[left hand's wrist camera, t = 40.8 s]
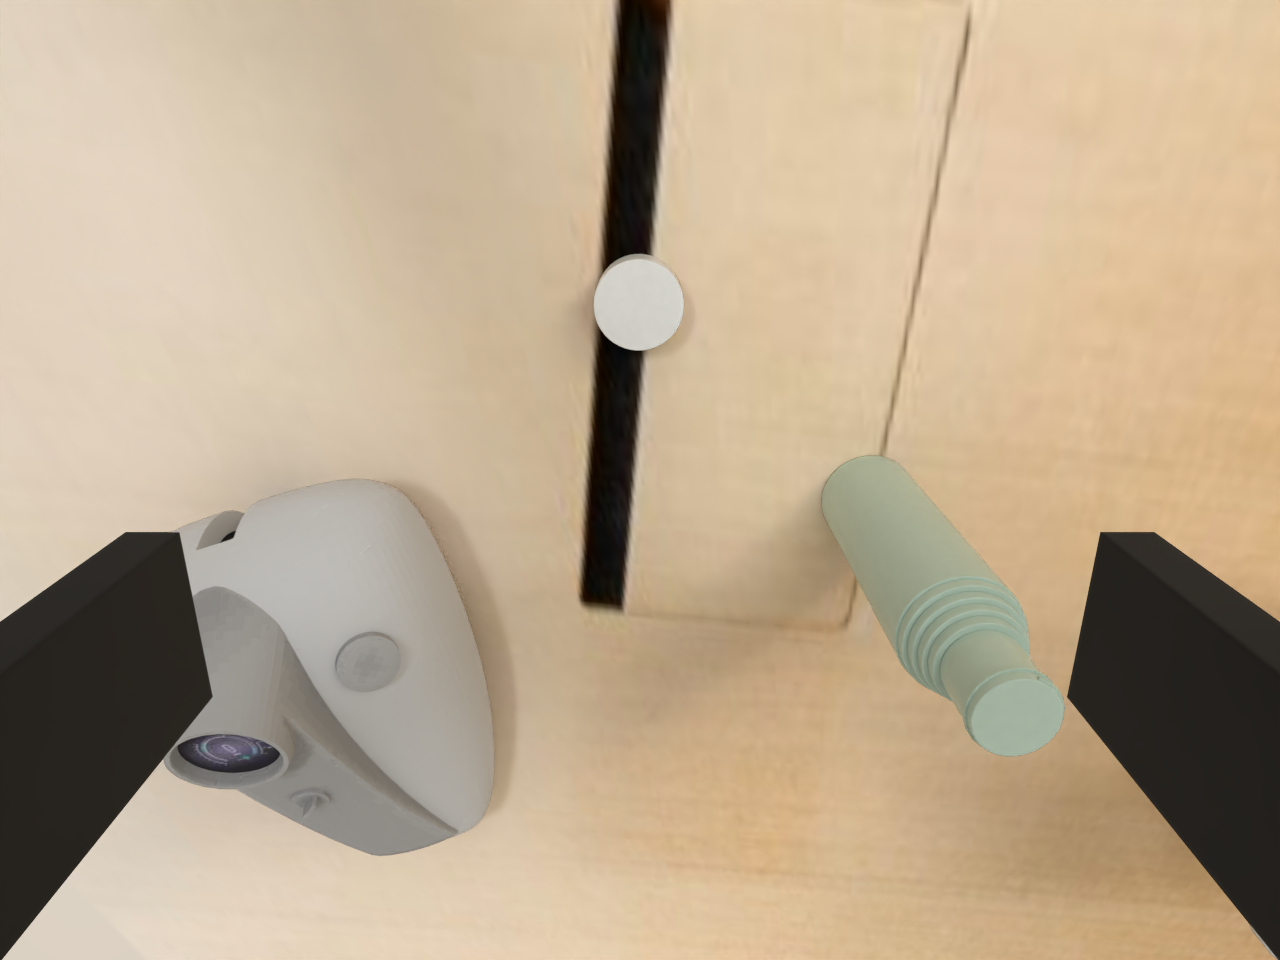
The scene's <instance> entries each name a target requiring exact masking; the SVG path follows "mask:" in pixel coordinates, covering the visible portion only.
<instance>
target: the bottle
mask: <svg viewBox="0 0 1280 960" xmlns="http://www.w3.org/2000/svg"><path fill="white" fill-rule="evenodd" d="M821 502H822V511H823V514H824V517H825V519H826V521H827V523H828V525H829V527H830V529H831V531H832V533H833V535H834V536H835V538H836V540H837V542H838V544H839V546H840V548H841V550H842V552H843V554H844V556H845V558H846V559H847V561H848V563H849V565H850V567H851V569H852V571H853V573H854V575H855V577H856V579H857V580H858V582H859V584H860V586H861V588H862V590H863V592H864V594H865V596H866V598H867V600H868V601H869V603H870V605H871V607H872V609H873V611H874V613H875V615H876V617H877V619H878V621H879V622H880V624H881V626H882V628H883V630H884V632H885V634H886V636H887V638H888V640H889V642H890V643H891V645H892V647H893V649H894V651H895V653H896V655H897V657H898V659H899V661H900V663H901V664H902V666H903V667H904V668H905V670H906V671H907V672H908V673H909V674H910V675H911V676H912V677H913V678H914V679H915V680H916V681H917V682H919V683H920V684H921V685H923V686H924V687H926V688H928V689H930V690H932V691H934V692H936V693H938V694H940V695H941V696H943V697H945V698H947V699H949V700H950V701H952V702H953V703H954V704H955V706H956V708H957V709H958V711H959V713H960V715H961V716H962V718H963V720H964V725H965V728H966V730H967V731H968V733H969V735H970V736H971V738H972V739H973V740H974V741H975V742H976V743H977V744H979V745H980V746H981V747H983V748H984V749H986V750H987V751H989V752H991V753H994V754H997V755H1001V756H1020V755H1025V754H1028V753H1031V752H1034V751H1036V750H1038V749H1040V748H1041V747H1043V746H1044V745H1046V744H1047V743H1048V742H1049V741H1050V740H1051V739H1052V738H1053V737H1054V736H1055V735H1056V733H1057V732H1058V730H1059V728H1060V726H1061V724H1062V720H1063V717H1064V709H1065V706H1064V701H1063V697H1062V695H1061V693H1060V692H1059V690H1058V688H1057V687H1056V686H1055V685H1054V684H1053V682H1052V681H1051V680H1050V679H1049V678H1048V677H1047V676H1046V675H1045V674H1044V673H1041V672H1040V670H1039V669H1038V668H1037V667H1036V665H1035V664H1034V663H1033V661H1032V660H1031V659H1030V652H1029V637H1028V624H1027V620H1026V617H1025V615H1024V612H1023V610H1022V607H1021V605H1020V603H1019V601H1018V600H1017V598H1016V597H1015V596H1014V595H1013V593H1012V592H1011V591H1010V590H1009V589H1008V588H1007V586H1006V585H1005V584H1004V583H1003V582H1002V581H1001V580H1000V578H999V577H998V576H997V575H996V574H995V573H994V572H993V570H992V569H991V568H990V567H989V566H988V565H987V563H986V562H985V561H984V560H983V559H982V558H981V557H980V555H979V554H978V553H977V552H976V551H975V550H974V549H973V547H972V546H971V545H970V544H969V543H968V542H967V540H966V539H965V538H964V537H963V536H962V535H961V534H960V532H959V531H958V530H957V529H956V528H955V527H954V526H953V524H952V523H951V522H950V521H949V520H948V519H947V517H946V516H945V515H944V514H943V513H942V512H941V511H940V509H939V508H938V507H937V506H936V505H935V504H934V503H933V501H932V500H931V499H930V498H929V497H928V496H927V494H926V493H925V492H924V491H923V490H922V489H921V488H920V486H919V485H918V484H917V483H916V482H915V481H914V480H913V478H912V477H911V476H910V475H909V474H908V473H907V471H906V470H905V469H904V468H903V467H902V466H901V465H899V464H898V463H897V462H895V461H893V460H891V459H889V458H886V457H882V456H872V455H870V456H862V457H858V458H855V459H852V460H850V461H848V462H846V463H844V464H843V465H841V466H840V467H839V468H838V469H837V470H836V471H835V472H834V473H833V474H832V475H831V476H830V478H829V479H828V481H827V483H826V485H825V487H824V490H823V494H822V501H821Z"/></svg>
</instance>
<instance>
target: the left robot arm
mask: <svg viewBox="0 0 1280 960" xmlns="http://www.w3.org/2000/svg"><path fill="white" fill-rule="evenodd" d="M212 697H213V695H212V690H211V685H210V681H209V676H208V671H207V666H206V661H205V656H204V651H203V646H202V641H201V636H200V631H199V626H198V621H197V616H196V611H195V606H194V601H193V597H192V592H191V587H190V582H189V577H188V572H187V567H186V562H185V557H184V552H183V547H182V542H181V537H180V532H125V533H124V534H123V535H121V536H120V537H118V538H117V539H116V540H114V541H113V542H111V543H110V544H109V545H107V546H106V547H104V548H103V549H102V550H100V551H99V552H97V553H96V554H95V555H93V556H92V557H90V558H89V559H88V560H86V561H85V562H83V563H82V564H81V565H79V566H78V567H76V568H75V569H74V570H72V571H71V572H69V573H68V574H67V575H65V576H64V577H62V578H61V579H60V580H58V581H57V582H55V583H54V584H53V585H51V586H50V587H48V588H47V589H46V590H44V591H43V592H41V593H40V594H39V595H37V596H36V597H34V598H33V599H32V600H30V601H29V602H27V603H26V604H25V605H23V606H22V607H20V608H19V609H18V610H16V611H15V612H13V613H12V614H11V615H9V616H8V617H6V618H5V619H4V620H2V621H1V622H0V960H2V959H3V957H4V956H5V955H6V954H7V953H8V951H9V950H10V949H11V948H12V946H13V945H14V944H15V943H16V941H17V940H18V939H19V938H20V936H21V935H22V934H23V933H24V931H25V930H26V929H27V928H28V926H29V925H30V924H31V923H32V921H33V920H34V919H35V918H36V916H37V915H38V914H39V913H40V911H41V910H42V909H43V908H44V906H45V905H46V904H47V903H48V901H49V900H50V899H51V898H52V897H53V895H54V894H55V893H56V892H57V890H58V889H59V888H60V887H61V885H62V884H63V883H64V882H65V880H66V879H67V878H68V877H69V875H70V874H71V873H72V872H73V870H74V869H75V868H76V867H77V865H78V864H79V863H80V862H81V860H82V859H83V858H84V857H85V855H86V854H87V853H88V852H89V850H90V849H91V848H92V847H93V845H94V844H95V843H96V842H97V840H98V839H99V838H100V837H101V836H102V834H103V833H104V832H105V831H106V829H107V828H108V827H109V826H110V824H111V823H112V822H113V821H114V819H115V818H116V817H117V816H118V814H119V813H120V812H121V811H122V809H123V808H124V807H125V806H126V804H127V803H128V802H129V801H130V799H131V798H132V797H133V796H134V794H135V793H136V792H137V791H138V789H139V788H140V787H141V786H142V784H143V783H144V782H145V781H146V779H147V778H148V777H149V776H150V774H151V773H152V772H153V771H154V770H155V768H156V767H157V766H158V765H159V763H160V762H161V761H162V760H163V758H164V757H165V756H166V755H167V753H168V752H169V751H170V750H171V748H172V747H173V746H174V745H175V743H176V742H177V741H178V740H179V738H180V737H181V736H182V735H183V733H184V732H185V731H186V730H187V728H188V727H189V726H190V725H191V723H192V722H193V721H194V720H195V718H196V717H197V716H198V715H199V713H200V712H201V711H202V710H203V709H204V707H205V706H206V705H207V704H208V702H209V701H210V700H211V699H212ZM1067 697H1068V699H1069V700H1070V701H1071V702H1072V704H1073V705H1074V706H1075V707H1076V709H1077V710H1078V711H1079V712H1080V713H1081V715H1082V716H1083V717H1084V718H1085V720H1086V721H1087V722H1088V723H1089V725H1090V726H1091V727H1092V728H1093V730H1094V731H1095V732H1096V733H1097V735H1098V736H1099V737H1100V738H1101V740H1102V741H1103V742H1104V743H1105V745H1106V746H1107V747H1108V748H1109V750H1110V751H1111V752H1112V753H1113V755H1114V756H1115V757H1116V758H1117V760H1118V761H1119V762H1120V763H1121V765H1122V766H1123V767H1124V768H1125V770H1126V771H1127V772H1128V773H1129V775H1130V776H1131V777H1132V778H1133V779H1134V781H1135V782H1136V783H1137V784H1138V786H1139V787H1140V788H1141V789H1142V791H1143V792H1144V793H1145V794H1146V796H1147V797H1148V798H1149V799H1150V801H1151V802H1152V803H1153V804H1154V806H1155V807H1156V808H1157V809H1158V811H1159V812H1160V813H1161V814H1162V816H1163V817H1164V818H1165V819H1166V821H1167V822H1168V823H1169V824H1170V826H1171V827H1172V828H1173V829H1174V831H1175V832H1176V833H1177V834H1178V836H1179V837H1180V838H1181V839H1182V840H1183V842H1184V843H1185V844H1186V845H1187V847H1188V848H1189V849H1190V850H1191V852H1192V853H1193V854H1194V855H1195V857H1196V858H1197V859H1198V860H1199V862H1200V863H1201V864H1202V865H1203V867H1204V868H1205V869H1206V870H1207V872H1208V873H1209V874H1210V875H1211V877H1212V878H1213V879H1214V880H1215V882H1216V883H1217V884H1218V885H1219V887H1220V888H1221V889H1222V890H1223V892H1224V893H1225V894H1226V895H1227V897H1228V898H1229V899H1230V900H1231V901H1232V903H1233V904H1234V905H1235V906H1236V908H1237V909H1238V910H1239V911H1240V913H1241V914H1242V915H1243V916H1244V918H1245V919H1246V920H1247V921H1248V923H1249V924H1250V925H1251V926H1252V928H1253V929H1254V930H1255V931H1256V933H1257V934H1258V935H1259V936H1260V938H1261V939H1262V940H1263V941H1264V943H1265V944H1266V945H1267V946H1268V948H1269V949H1270V950H1271V951H1272V953H1273V954H1274V955H1275V956H1276V958H1277V959H1278V960H1280V622H1279V621H1278V620H1276V619H1275V618H1274V617H1272V616H1271V615H1269V614H1268V613H1267V612H1265V611H1264V610H1262V609H1261V608H1260V607H1258V606H1257V605H1255V604H1254V603H1253V602H1251V601H1250V600H1248V599H1247V598H1246V597H1244V596H1243V595H1241V594H1240V593H1239V592H1237V591H1236V590H1234V589H1233V588H1232V587H1230V586H1229V585H1227V584H1226V583H1225V582H1223V581H1222V580H1220V579H1219V578H1218V577H1216V576H1215V575H1213V574H1212V573H1211V572H1209V571H1208V570H1206V569H1205V568H1204V567H1202V566H1201V565H1199V564H1198V563H1197V562H1195V561H1194V560H1192V559H1191V558H1190V557H1188V556H1187V555H1185V554H1184V553H1183V552H1181V551H1180V550H1178V549H1177V548H1176V547H1174V546H1173V545H1171V544H1170V543H1169V542H1167V541H1166V540H1164V539H1163V538H1162V537H1160V536H1159V535H1157V534H1156V533H1155V532H1100V537H1099V542H1098V547H1097V552H1096V557H1095V562H1094V567H1093V572H1092V577H1091V582H1090V587H1089V592H1088V596H1087V601H1086V606H1085V611H1084V616H1083V621H1082V626H1081V631H1080V636H1079V641H1078V646H1077V651H1076V656H1075V661H1074V666H1073V671H1072V676H1071V681H1070V685H1069V690H1068V695H1067Z"/></svg>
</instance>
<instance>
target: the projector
mask: <svg viewBox="0 0 1280 960" xmlns="http://www.w3.org/2000/svg"><path fill="white" fill-rule="evenodd" d="M172 532H180V537H181V542H182V547H183V552H184V557H185V562H186V567H187V572H188V577H189V582H190V587H191V592H192V597H193V601H194V606H195V611H196V616H197V621H198V626H199V631H200V636H201V641H202V646H203V651H204V656H205V661H206V666H207V671H208V676H209V681H210V685H211V690H212V695H213V697H212V699H211V700H210V701H209V702H208V704H207V705H206V706H205V707H204V709H203V710H202V711H201V712H200V713H199V715H198V716H197V717H196V718H195V720H194V721H193V722H192V723H191V725H190V726H189V727H188V728H187V730H186V731H185V732H184V733H183V735H182V736H181V737H180V738H179V740H178V741H177V742H176V743H175V745H174V746H173V747H172V748H171V750H170V751H169V752H168V753H167V755H166V756H165V757H164V758H163V759H164V764H165V766H166V767H167V769H168V770H169V771H170V772H171V773H173V774H174V775H175V776H177V777H178V778H180V779H182V780H185V781H187V782H189V783H192V784H196V785H200V786H203V787H210V788H217V789H237V790H238V791H240V792H242V793H243V794H245V795H247V796H248V797H250V798H252V799H253V800H255V801H257V802H259V803H261V804H263V805H265V806H267V807H268V808H270V809H272V810H274V811H276V812H278V813H280V814H282V815H284V816H286V817H288V818H290V819H291V820H293V821H295V822H297V823H299V824H301V825H303V826H305V827H307V828H309V829H311V830H314V831H316V832H318V833H320V834H322V835H324V836H327V837H329V838H331V839H333V840H335V841H338V842H340V843H342V844H345V845H347V846H350V847H352V848H355V849H358V850H360V851H363V852H366V853H368V854H371V855H377V856H384V855H394V854H400V853H405V852H410V851H414V850H417V849H421V848H424V847H427V846H430V845H433V844H436V843H439V842H441V841H443V840H445V839H448V838H451V837H454V836H456V835H459V834H461V833H464V832H466V831H468V830H470V829H471V828H473V827H474V826H476V825H477V824H478V823H479V822H480V821H481V820H482V818H483V817H484V814H485V812H486V810H487V807H488V805H489V801H490V798H491V794H492V788H493V782H494V767H495V763H494V736H493V723H492V714H491V707H490V700H489V694H488V689H487V684H486V679H485V675H484V671H483V666H482V662H481V658H480V654H479V651H478V647H477V644H476V641H475V637H474V634H473V631H472V628H471V625H470V622H469V619H468V616H467V613H466V610H465V607H464V605H463V602H462V600H461V597H460V594H459V592H458V589H457V586H456V584H455V581H454V579H453V577H452V574H451V572H450V570H449V567H448V565H447V563H446V560H445V558H444V556H443V554H442V552H441V550H440V548H439V546H438V543H437V541H436V539H435V538H434V536H433V534H432V532H431V530H430V528H429V527H428V525H427V523H426V521H425V520H424V518H423V517H422V515H421V514H420V512H419V511H418V509H417V508H416V507H415V505H414V504H413V503H412V502H411V501H410V500H409V498H408V497H406V496H405V495H404V494H403V493H402V492H400V491H399V490H397V489H396V488H394V487H392V486H390V485H387V484H385V483H381V482H377V481H373V480H367V479H346V480H338V481H332V482H326V483H321V484H316V485H312V486H308V487H304V488H300V489H296V490H293V491H289V492H285V493H282V494H279V495H275V496H272V497H269V498H266V499H263V500H260V501H258V502H256V503H254V504H253V505H252V506H251V507H250V508H249V509H248V510H247V511H246V513H242V512H238V511H226V512H222V513H219V514H216V515H213V516H210V517H207V518H205V519H202V520H199V521H196V522H194V523H191V524H188V525H186V526H183V527H181V528H179V529H176V530H174V531H172Z"/></svg>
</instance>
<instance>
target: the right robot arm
mask: <svg viewBox="0 0 1280 960" xmlns="http://www.w3.org/2000/svg"><path fill="white" fill-rule="evenodd" d="M1250 928H1251V930H1252V931H1253V932H1254V934H1255V935H1256V936H1257V937H1258V939H1259V940H1260V941H1261V942H1262V944H1263V945H1264V946H1265V947H1266V949H1267V950H1268V951H1269V952H1270V954H1271V955H1272V956H1274V957H1275V958H1276V956H1275V955H1274V954H1273V953H1272V951H1271V950H1270V949H1269V948H1268V946H1267V945H1266V944H1265V943H1264V941H1263V940H1262V939H1261V938H1260V936H1259V935H1258V934H1257V933H1256V931H1255V930H1254V929H1253V928H1252V926H1251V925H1250ZM1276 959H1277V958H1276Z"/></svg>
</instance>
